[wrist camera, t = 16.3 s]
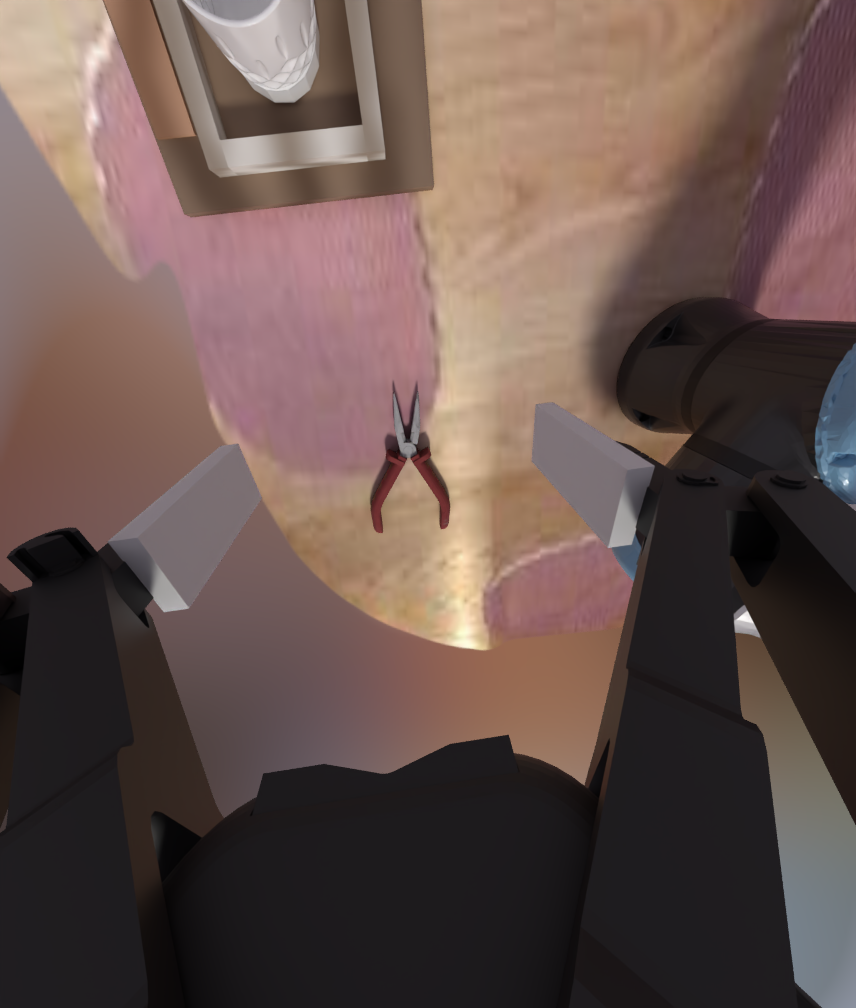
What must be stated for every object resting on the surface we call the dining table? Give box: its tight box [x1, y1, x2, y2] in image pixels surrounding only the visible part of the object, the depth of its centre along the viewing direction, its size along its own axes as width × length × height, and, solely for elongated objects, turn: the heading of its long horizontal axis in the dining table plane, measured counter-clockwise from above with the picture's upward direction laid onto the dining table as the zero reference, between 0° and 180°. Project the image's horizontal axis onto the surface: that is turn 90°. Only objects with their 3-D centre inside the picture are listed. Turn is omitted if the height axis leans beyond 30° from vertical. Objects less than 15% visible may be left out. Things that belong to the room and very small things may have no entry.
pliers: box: [371, 391, 450, 533], centre depth 44 cm, size 12×20×3 cm, turn 0°
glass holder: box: [103, 0, 434, 217], centre depth 24 cm, size 22×18×3 cm
